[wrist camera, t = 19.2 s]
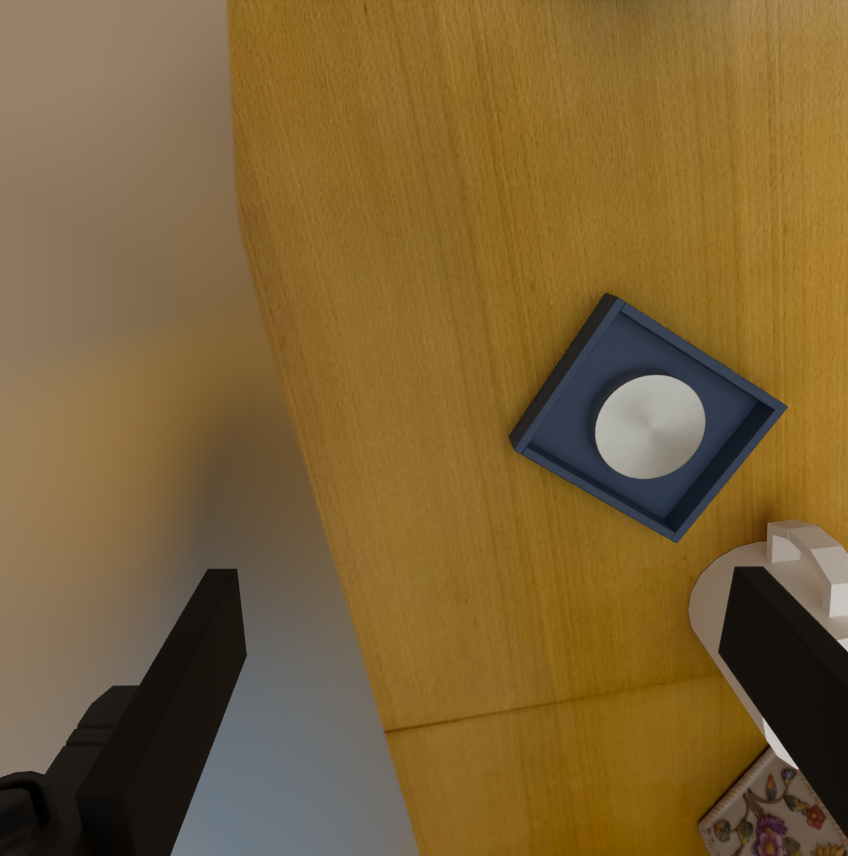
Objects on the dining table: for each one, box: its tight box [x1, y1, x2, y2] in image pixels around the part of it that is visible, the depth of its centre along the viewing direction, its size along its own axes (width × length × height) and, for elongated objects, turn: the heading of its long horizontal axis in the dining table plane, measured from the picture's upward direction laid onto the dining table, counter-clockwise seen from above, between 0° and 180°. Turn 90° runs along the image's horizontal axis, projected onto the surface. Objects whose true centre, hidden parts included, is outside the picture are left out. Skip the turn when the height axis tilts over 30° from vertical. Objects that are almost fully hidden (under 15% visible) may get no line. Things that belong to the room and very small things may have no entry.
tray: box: [509, 293, 788, 543], centre depth 40 cm, size 13×11×3 cm
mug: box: [688, 519, 848, 769], centre depth 40 cm, size 14×10×11 cm
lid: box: [588, 368, 706, 479], centre depth 40 cm, size 7×7×2 cm
